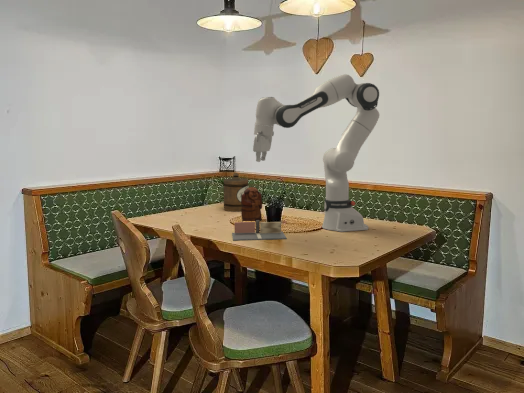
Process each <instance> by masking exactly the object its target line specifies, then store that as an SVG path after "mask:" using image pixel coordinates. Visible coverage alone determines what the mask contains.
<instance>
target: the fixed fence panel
mask: <svg viewBox="0 0 524 393" xmlns="http://www.w3.org/2000/svg"><path fill="white" fill-rule="evenodd" d="M260 221H261V220H256V221H255V232H256V233H281V231H282V221H270V222H269V221H267V222H266V221H264V222H262V221H261V222H260Z"/></svg>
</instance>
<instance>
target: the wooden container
mask: <svg viewBox="0 0 524 393" xmlns="http://www.w3.org/2000/svg"><path fill="white" fill-rule="evenodd" d="M247 188H249V179H248V178H242V177H241V178H240V177H239V173H238V172H234V173H233V174H232V178H231V177H230V178H225V179H223V210H224V211H226V212H233V213H234V212H237V213H239V212H241V209H242V204H241V196H242V194H244V191H245V190H246V189H247Z"/></svg>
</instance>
